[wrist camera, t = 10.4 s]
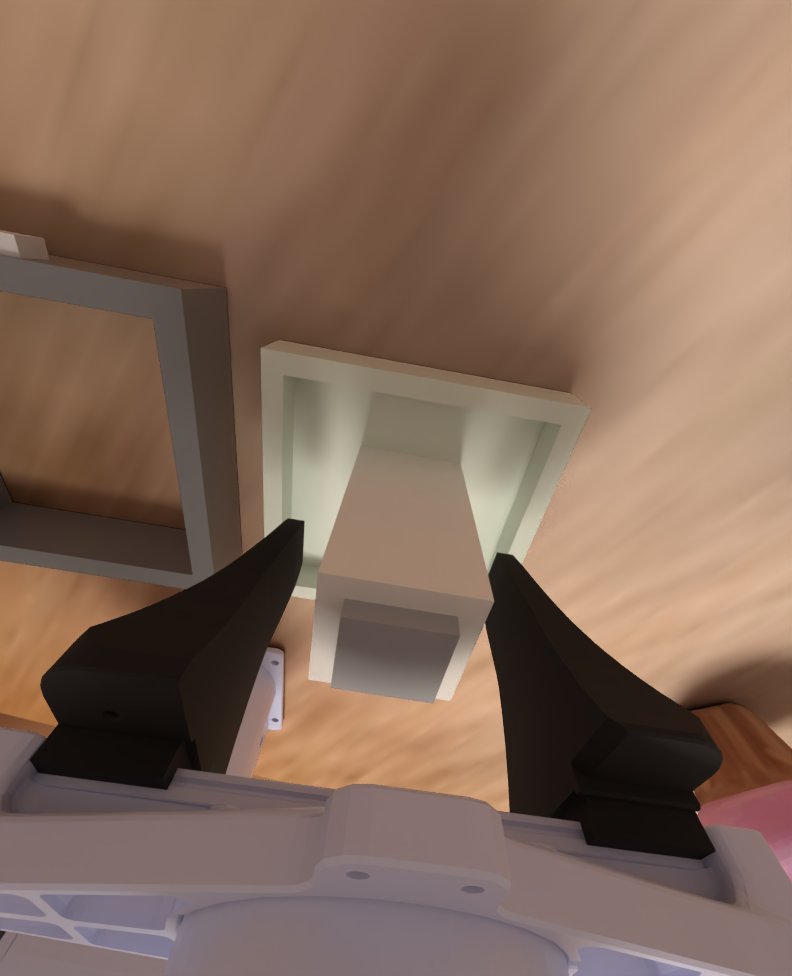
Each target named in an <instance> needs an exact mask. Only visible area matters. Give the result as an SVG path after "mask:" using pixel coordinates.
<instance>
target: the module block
mask: <svg viewBox="0 0 792 976" xmlns="http://www.w3.org/2000/svg"><path fill="white" fill-rule="evenodd" d="M493 603H494V598H493V594H492V590H491V586H490V582H489V577H488V573H487V569H486V565H485V561H484V557H483V553H482V549H481V545H480V541H479V536H478V532H477V528H476V524H475V520H474V516H473V512H472V508H471V504H470V500H469V496H468V491H467V487H466V483H465V479H464V475H463V471H462V467H461V464H460V463H454V462H449V461H443V460H438V459H432V458H427V457H421V456H416V455H410V454H405V453H399V452H393V451H388V450H382V449H377V448H371V447H366V446H360V449H359V452H358V455H357V458H356V461H355V464H354V467H353V470H352V473H351V476H350V479H349V482H348V485H347V488H346V491H345V494H344V497H343V500H342V503H341V506H340V508H339V511H338V514H337V517H336V520H335V523H334V526H333V529H332V532H331V535H330V538H329V541H328V544H327V547H326V550H325V553H324V556H323V559H322V562H321V565H320V568H319V570H318V577H317V588H316V599H315V610H314V621H313V633H312V644H311V655H310V666H309V677H308V679H309V680H315V681H322V682H328V683H331V687H330V688H334V689H341V690H347V691H354V692H361V693H367V694H374V695H380V696H387V697H394V698H400V699H407V700H414V701H420V702H427V703H434V700H435V699H441V700H447V701H451V699H452V696H453V694H454V692H455V690H456V687H457V685H458V683H459V680H460V678H461V676H462V674H463V671H464V669H465V667H466V665H467V662H468V660H469V658H470V656H471V653H472V651H473V649H474V646H475V644H476V642H477V640H478V637H479V635H480V633H481V631H482V628H483V626H484V624H485V621H486V619H487V617H488V615H489V612H490V610H491V608H492V606H493Z"/></svg>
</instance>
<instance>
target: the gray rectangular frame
mask: <svg viewBox="0 0 792 976" xmlns="http://www.w3.org/2000/svg"><path fill="white" fill-rule="evenodd" d="M0 291H2V292H8V293H13V294H19V295H24V296H30V297H35V298H41V299H46V300H52V301H57V302H62V303H68V304H73V305H79V306H84V307H90V308H95V309H101V310H106V311H112V312H117V313H123V314H128V315H134V316H139V317H145V318H150V319H153V322H154V328H155V335H156V341H157V348H158V354H159V361H160V367H161V373H162V380H163V386H164V393H165V399H166V406H167V412H168V419H169V425H170V431H171V438H172V444H173V451H174V457H175V464H176V470H177V477H178V483H179V490H180V496H181V502H182V509H183V515H184V522H185V528H186V530H182V529H176V528H170V527H164V526H157V525H151V524H145V523H139V522H132V521H126V520H120V519H114V518H108V517H101V516H95V515H89V514H83V513H76V512H70V511H64V510H58V509H51V508H45V507H39V506H33V505H27V504H20V503H14V502H12V500H11V498H10V495H9V493H8V491H7V489H6V486H5V484H4V482H3V479H2V477H1V475H0V561H7V562H13V563H20V564H26V565H32V566H39V567H45V568H52V569H58V570H65V571H71V572H78V573H84V574H91V575H97V576H104V577H110V578H117V579H123V580H130V581H136V582H143V583H149V584H156V585H162V586H169V587H175V588H182V589H187V588H189V587H191V586H193V585H195V584H197V583H199V582H201V581H203V580H205V579H206V578H208V577H210V576H211V575H213V574H215V573H216V572H218V571H220V570H221V569H223V568H224V567H226V566H227V565H229V564H230V563H232V562H233V561H234V560H236V559H237V558H239V557H240V556H241V554H242V542H241V525H240V509H239V492H238V476H237V459H236V442H235V426H234V409H233V393H232V376H231V360H230V343H229V327H228V310H227V294H226V288H224V287H219V286H213V285H208V284H203V283H197V282H192V281H187V280H182V279H176V278H171V277H166V276H160V275H155V274H150V273H144V272H139V271H134V270H128V269H123V268H118V267H112V266H107V265H102V264H96V263H91V262H86V261H80V260H75V259H70V258H64V257H59V256H54V255H48V252H47V248H46V244H45V241H44V238H41V237H35V236H30V235H25V234H19V233H14V232H9V231H4V230H0Z"/></svg>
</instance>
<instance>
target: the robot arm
mask: <svg viewBox="0 0 792 976" xmlns="http://www.w3.org/2000/svg"><path fill="white" fill-rule="evenodd" d="M304 525H305V521H302V520H296V519H290V518H288V519H286V520H285V521H284V522H282V523H281V524H280V525H279V526H278V527H277V528H275V529H274V530H273V531H272V532H271V533H270V534H268V535H267V536H266V537H265V538H264V539H262V540H261V541H260V542H259V543H257V544H256V545H255V546H254V547H252V548H251V549H250V550H248V551H247V552H246V553H244V554H243V555H242V556H240V557H239V558H237V559H236V560H234V561H233V562H232V563H230V564H229V565H227V566H226V567H224V568H223V569H221V570H220V571H218V572H216V573H215V574H213V575H211V576H210V577H208V578H206V579H205V580H203V581H201V582H199V583H197V584H195V585H193V586H191V587H189V588H187V589H185V590H183V591H181V592H179V593H177V594H175V595H173V596H171V597H169V598H167V599H165V600H162V601H160V602H158V603H155V604H153V605H151V606H148V607H146V608H143V609H141V610H138V611H135V612H133V613H130V614H127V615H125V616H122V617H119V618H116V619H113V620H110V621H107V622H104V623H101V624H98V625H95V626H92V627H90V628H89V629H87V630H86V631H85V632H84V633H83V634H82V635H81V636H80V637H79V638H78V639H77V640H76V641H75V642H74V643H73V644H72V645H71V646H70V647H69V648H68V650H67V651H66V652H65V653H64V654H63V655H62V656H61V657H60V658H59V659H58V660H57V661H56V662H55V664H54V665H53V666H52V667H51V668H50V669H49V670H48V671H47V672H46V673H45V674H44V675H43V676H42V679H41V684H40V685H41V690H42V693H43V696H44V698H45V700H46V702H47V704H48V705H49V707H50V709H51V711H52V713H53V714H54V716H55V718H56V720H57V722H58V723H59V724H58V725H57V726H56V728H55V729H54V730H53V731H52V733H51V734H50V735H49V736H48V738H45V737H44V736H42V735H40V734H38V733H35V732H31V731H25V730H18V729H11V728H3V727H0V976H792V882H791V880H790V879H789V877H788V876H787V874H786V872H785V871H784V869H783V868H782V866H781V864H780V863H779V861H778V860H777V858H776V856H775V855H774V853H773V852H772V850H771V848H770V847H769V845H768V844H767V842H766V840H765V839H764V837H763V836H762V834H761V833H760V832H759V831H757V830H755V829H747V828H740V827H733V826H725V825H708V826H704V827H703V825H702V824H701V822H700V820H699V818H698V816H697V814H696V812H695V811H697V812H698V811H699V810H701V805H700V803H699V801H698V800H697V798H696V796H695V794H694V792H693V791H694V790H695V789H696V788H697V787H699V786H700V785H701V784H703V783H704V782H705V781H707V780H708V779H709V778H710V777H712V776H713V775H714V774H715V773H716V772H717V771H718V770H719V769H720V766H721V764H722V761H723V756H722V752H721V750H720V749H719V747H718V746H717V744H716V743H715V741H714V739H713V738H712V736H711V735H710V733H709V732H708V730H707V729H706V727H705V726H704V724H703V723H702V721H701V719H700V718H699V717H698V716H696V715H695V714H693V713H692V712H690V711H688V710H687V709H685V708H684V707H682V706H681V705H679V704H677V703H676V702H674V701H673V700H671V699H669V698H668V697H666V696H665V695H663V694H661V693H660V692H659V691H657V690H656V689H654V688H653V687H651V686H650V685H648V684H647V683H646V682H644V681H643V680H641V679H640V678H638V677H637V676H636V675H634V674H633V673H632V672H630V671H629V670H628V669H626V668H625V667H624V666H622V665H621V664H620V663H619V662H617V661H616V660H615V659H614V658H612V657H611V656H610V655H609V654H607V653H606V652H605V651H604V650H602V649H601V648H600V647H599V646H598V645H597V644H595V643H594V642H593V641H592V640H591V639H590V638H589V637H588V636H587V635H586V634H584V633H583V632H582V631H581V630H580V629H579V628H578V627H577V626H576V625H575V624H574V623H573V622H572V621H571V620H570V619H569V618H568V617H567V616H566V615H565V614H564V613H563V612H562V611H561V610H560V609H559V608H558V607H557V606H556V605H555V603H554V602H553V601H552V600H551V599H550V598H549V597H548V596H547V594H546V593H545V592H544V591H543V590H542V589H541V588H540V586H539V585H538V584H537V583H536V582H535V580H534V579H533V578H532V577H531V576H530V574H529V573H528V572H527V571H526V569H525V568H524V567H523V566H522V565H521V563H520V562H519V561H518V560H517V559H516V558H515V557H514V555H511V554H504V553H498V552H497V554H496V556H495V559H494V561H493V564H492V566H491V569H490V571H489V574H488V577H489V582H490V586H491V590H492V594H493V598H494V603H493V606H492V608H491V610H490V612H489V615H488V617H487V619H486V621H485V625H486V630H487V634H488V639H489V643H490V648H491V652H492V656H493V661H494V665H495V670H496V674H497V679H498V685H499V691H500V700H501V708H502V716H503V726H504V736H505V746H506V759H507V772H508V787H509V806H510V813H509V812H502V811H497V810H496V809H494V808H493V807H492V806H491V805H489V804H488V803H487V802H485V801H481V800H478V799H474V798H470V797H465V796H457V795H450V794H442V793H435V792H428V791H420V790H413V789H405V788H398V787H391V786H383V785H376V784H352V785H348V786H345V787H341V788H338V789H330V788H322V787H315V786H307V785H300V784H292V783H285V782H277V781H270V780H262V779H255V778H252V775H253V772H254V769H255V766H256V763H257V760H258V757H259V754H260V751H261V748H262V745H263V742H264V739H265V736H266V733H267V730H268V729H270V730H280V729H281V728H282V725H283V698H284V652H283V651H282V650H280V649H277V648H271V647H268V645H269V643H270V640H271V638H272V636H273V634H274V632H275V629H276V627H277V625H278V623H279V621H280V619H281V617H282V614H283V612H284V610H285V608H286V606H287V604H288V601H289V599H290V597H291V595H292V593H293V591H294V588H295V586H296V583H297V579H298V576H299V573H300V570H301V567H302V564H303V546H304Z"/></svg>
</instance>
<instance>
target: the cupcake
mask: <svg viewBox="0 0 792 976" xmlns="http://www.w3.org/2000/svg"><path fill="white" fill-rule="evenodd" d="M690 712H692V713H693V714H695V715H696V716H698V717H699V718H700V719H701V721H702V723H703V724H704V726H705V727H706V729H707V730H708V732H709V733H710V735H711V736H712V738H713V739H714V741H715V743H716V744H717V746H718V747H719V749H720V750H721V752H722V756H723V761H722V764H721V766H720V769H719V770H718V771H717V772H716V773H715V774H714V775H713V776H712V777H710V778H709V779H708V780H707V781H705V782H704V783H703V784H701V785H700V786H699V787H697V788H696V789H695V790H694V792H695V795H696V798H697V800H698V801H699V803H700V805H701V810H699V812H698V815H697V816H698V818H699V820H700V822H701V824H702V825H703V827H704V826H708V825H725V826H733V827H740V828H747V829H755V830H757V831H759V832H760V833H761V834H762V836H763V837H764V839H765V840H766V842H767V844H768V845H769V847H770V848H771V850H772V852H773V853H774V855H775V856H776V858H777V860H778V861H779V863H780V864H781V866H782V868H783V869H784V871H785V872H786V874H787V876H788V877H789V879H790V880H791V882H792V749H791V748H790V747H789V746H788V745H787V744H786V743H785V742H784V741H783V740H782V739H781V738H780V737H779V736H778V735H777V734H776V733H775V732H774V731H773V730H772V729H771V728H769V727H768V726H767V725H766V724H765V723H764V722H763V721H762V720H761V719H760V718H759V717H758V716H756V715H755V714H754V713H753V712H752V711H750V710H749V709H747V708H745V707H743V706H740V705H737V704H721V705H718V706H712V707H707V708H703V709H698V710H692V711H690Z"/></svg>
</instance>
